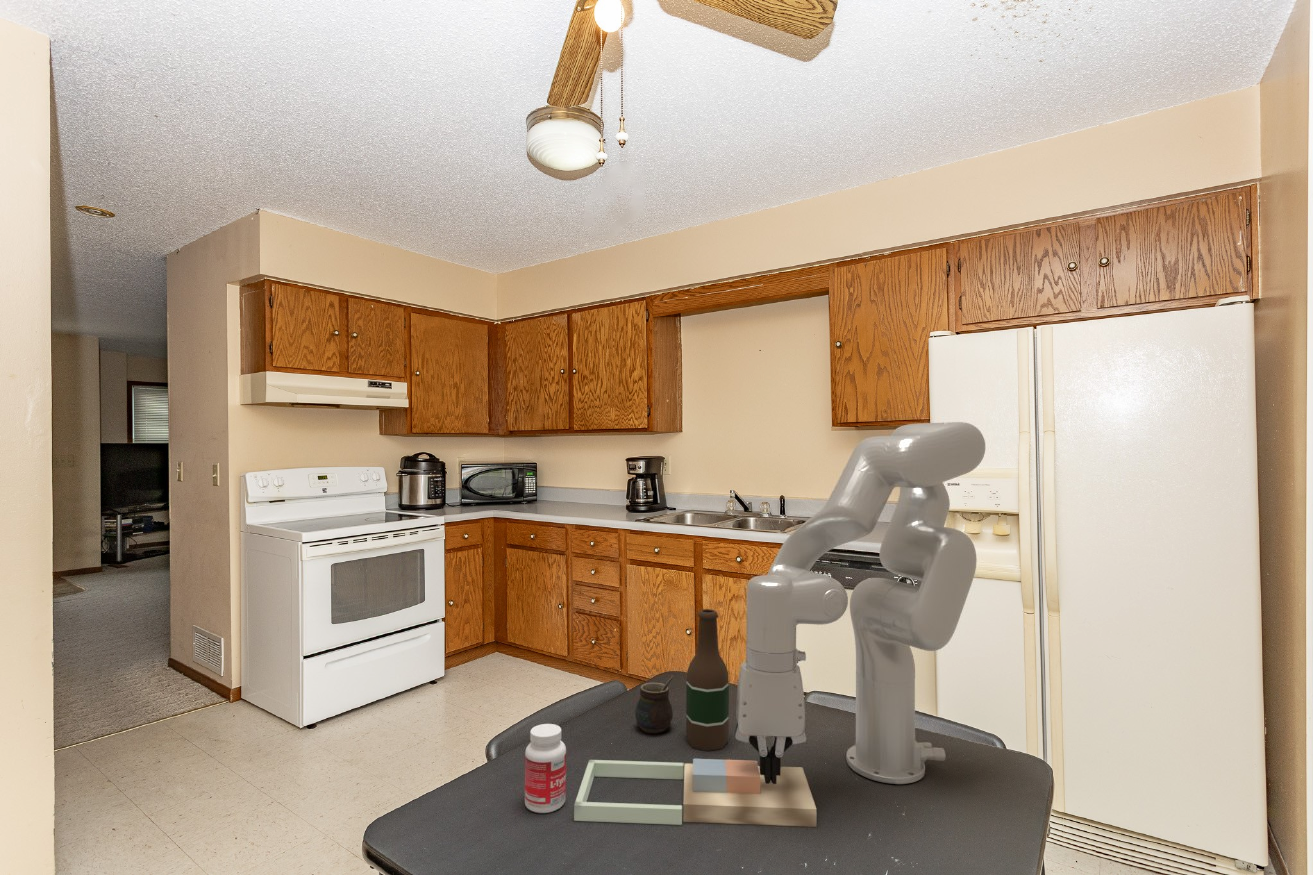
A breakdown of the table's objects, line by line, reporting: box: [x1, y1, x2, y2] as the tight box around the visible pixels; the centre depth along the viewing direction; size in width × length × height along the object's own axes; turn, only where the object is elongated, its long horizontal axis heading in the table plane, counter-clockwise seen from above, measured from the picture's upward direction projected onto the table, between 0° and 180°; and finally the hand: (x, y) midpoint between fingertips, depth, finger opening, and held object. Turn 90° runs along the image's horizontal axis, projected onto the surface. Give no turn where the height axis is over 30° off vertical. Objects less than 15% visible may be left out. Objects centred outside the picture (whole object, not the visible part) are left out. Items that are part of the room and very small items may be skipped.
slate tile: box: [692, 758, 727, 793], centre depth 99 cm, size 5×5×2 cm
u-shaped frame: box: [573, 759, 684, 826], centre depth 100 cm, size 16×14×2 cm
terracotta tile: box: [724, 759, 760, 794], centre depth 99 cm, size 5×5×2 cm
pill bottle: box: [524, 723, 567, 814], centre depth 98 cm, size 6×6×11 cm
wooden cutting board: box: [682, 763, 818, 828], centre depth 99 cm, size 19×12×2 cm, turn 87°
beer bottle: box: [685, 608, 730, 752], centre depth 118 cm, size 8×8×24 cm
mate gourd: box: [634, 674, 675, 734], centre depth 124 cm, size 7×8×10 cm
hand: (769, 779), depth 98 cm, fingers closed
